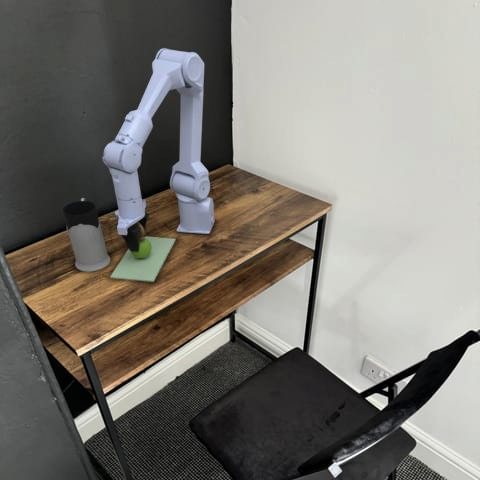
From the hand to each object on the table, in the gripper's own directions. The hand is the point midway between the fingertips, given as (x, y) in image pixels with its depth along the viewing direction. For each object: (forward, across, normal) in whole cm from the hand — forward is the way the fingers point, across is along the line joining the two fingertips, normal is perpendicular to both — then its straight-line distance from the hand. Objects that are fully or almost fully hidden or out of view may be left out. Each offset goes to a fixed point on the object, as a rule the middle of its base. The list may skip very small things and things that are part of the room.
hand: (137, 246), depth 116 cm
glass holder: (+4, 0, -13) cm, 13 cm away
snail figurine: (+4, -1, 0) cm, 4 cm away
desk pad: (+4, -1, +1) cm, 4 cm away
